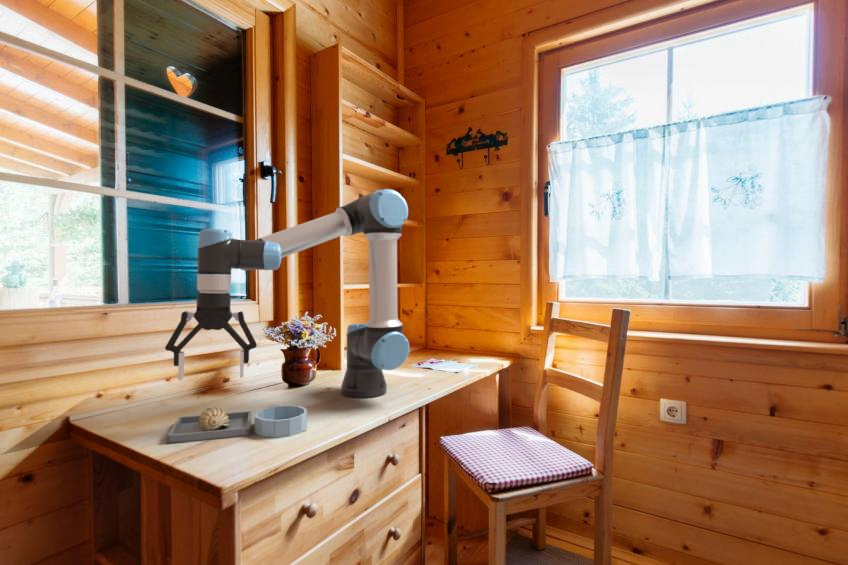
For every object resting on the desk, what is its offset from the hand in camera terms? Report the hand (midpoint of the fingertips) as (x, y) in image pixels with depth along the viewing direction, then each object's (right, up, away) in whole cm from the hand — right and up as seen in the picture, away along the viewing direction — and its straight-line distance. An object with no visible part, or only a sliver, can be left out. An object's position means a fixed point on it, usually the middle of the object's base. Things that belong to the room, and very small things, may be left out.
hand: (212, 377), depth 107 cm
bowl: (+16, -13, +2) cm, 21 cm away
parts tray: (0, -13, 0) cm, 13 cm away
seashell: (0, -13, 0) cm, 13 cm away
